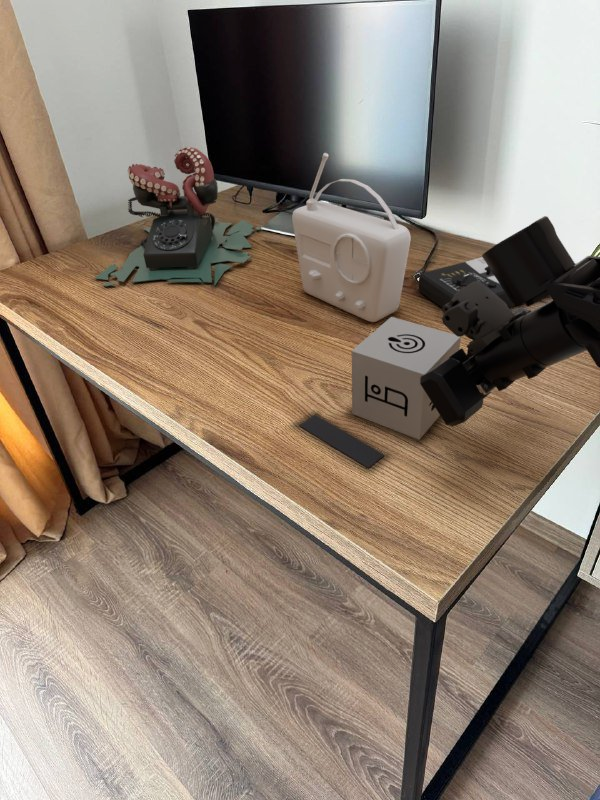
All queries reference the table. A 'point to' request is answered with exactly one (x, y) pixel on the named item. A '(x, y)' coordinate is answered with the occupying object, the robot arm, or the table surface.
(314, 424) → the felt mark
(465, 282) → the multimeter
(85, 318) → the table surface
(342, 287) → the radio
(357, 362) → the icon cube
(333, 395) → the table surface
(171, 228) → the telephone
